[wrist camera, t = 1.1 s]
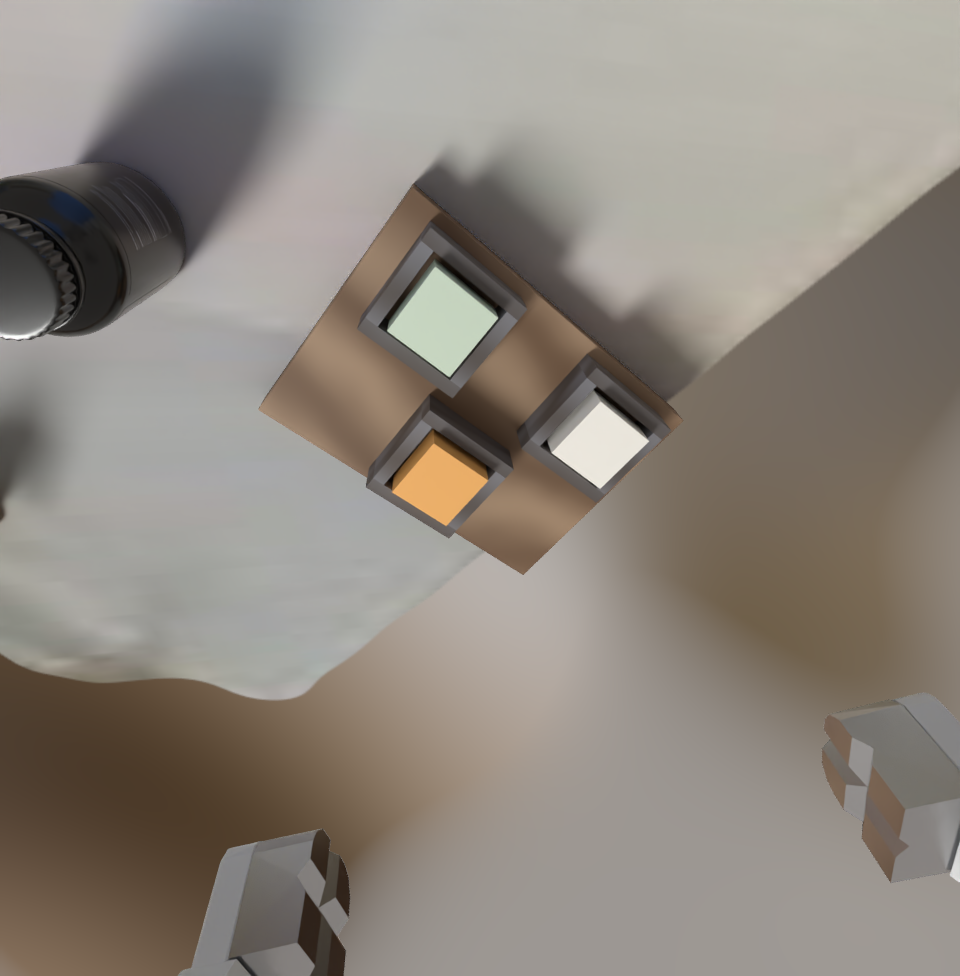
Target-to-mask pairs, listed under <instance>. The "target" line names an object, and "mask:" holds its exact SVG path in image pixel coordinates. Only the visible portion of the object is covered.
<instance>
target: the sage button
mask: <svg viewBox="0 0 960 976" xmlns="http://www.w3.org/2000/svg"><path fill="white" fill-rule="evenodd" d="M497 319H498V316H497V313H496V310H495V308H494V307H493V306H492V305H491V304H489V303H488V302H487V301H486V300H485V299H483V298H482V297H481V296H480V295H478V294H477V293H476V292H475V291H474V290H472V289H471V288H470V287H469V286H467V285H466V284H465V283H464V282H463V281H461V280H460V279H459V278H458V277H457V276H455V275H454V274H453V273H452V272H450V271H449V270H448V269H447V268H446V267H444V266H443V265H442V264H441V263H440V262H438V261H437V260H436V259H434V261H433V262H432V263H431V265H430V266H429V267H428V269H427V270H426V271H425V273H424V274H423V275H422V277H421V278H420V279H419V281H418V282H417V283H416V285H415V286H414V287H413V289H412V290H411V291H410V293H409V294H408V295H407V297H406V298H405V299H404V301H403V302H402V304H401V305H400V306H399V308H398V309H397V310H396V312H395V313H394V314H393V316H392V317H391V318H390V320H389V323H388V328H387V331H388V332H389V333H390V334H392V335H393V336H394V337H396V338H397V339H398V340H400V341H401V342H402V343H404V344H405V345H407V346H408V347H409V348H411V349H412V350H413V351H415V352H416V353H417V354H419V355H420V356H421V357H423V358H424V359H425V360H427V361H428V362H430V363H431V364H432V365H434V366H435V367H436V368H438V369H439V370H440V371H442V372H443V373H444V374H446V375H447V376H448V377H450V376H451V375H452V374H453V372H454V371H455V370H456V369H457V368H458V366H459V365H460V364H461V363H462V362H463V360H464V359H465V358H466V357H467V355H468V354H469V353H470V352H471V351H472V349H473V348H474V347H475V346H476V345H477V343H478V342H479V341H480V340H481V338H482V337H483V336H484V335H485V334H486V332H487V331H488V330H489V329H490V328H491V326H492V325H493V324H494V323H495V322H496V320H497Z"/></svg>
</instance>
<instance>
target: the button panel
mask: <svg viewBox="0 0 960 976" xmlns="http://www.w3.org/2000/svg"><path fill="white" fill-rule="evenodd" d="M434 259H436V260H437V261H438V262H440V263H441V264H442V265H443V266H444V267H446V268H447V269H448V270H449V271H450V272H452V273H453V274H454V275H455V276H457V277H458V278H459V279H460V280H461V281H463V282H464V283H465V284H466V285H467V286H469V287H470V288H471V289H472V290H474V291H475V292H476V293H477V294H478V295H480V296H481V297H482V298H483V299H485V300H486V301H487V302H488V303H489V304H491V305H492V306H493V307H494V308H495V310H496V313H497V316H498V319H497V320H496V322H495V323H494V324H493V325H492V326H491V328H490V329H489V330H488V331H487V332H486V334H485V335H484V336H483V337H482V338H481V340H480V341H479V342H478V343H477V345H476V346H475V347H474V348H473V349H472V351H471V352H470V353H469V354H468V355H467V357H466V358H465V359H464V360H463V362H462V363H461V364H460V365H459V366H458V368H457V369H456V370H455V371H454V372H453V374H452V375H451V376H450V377H448V376H447V375H446V374H444V373H443V372H442V371H440V370H439V369H438V368H436V367H435V366H434V365H432V364H431V363H430V362H428V361H427V360H425V359H424V358H423V357H421V356H420V355H419V354H417V353H416V352H415V351H413V350H412V349H411V348H409V347H408V346H407V345H405V344H404V343H402V342H401V341H400V340H398V339H397V338H396V337H394V336H393V335H392V334H390V333H389V332H388V331H387V328H388V323H389V320H390V318H391V317H392V316H393V314H394V313H395V312H396V310H397V309H398V308H399V306H400V305H401V304H402V302H403V301H404V299H405V298H406V297H407V295H408V294H409V293H410V291H411V290H412V289H413V287H414V286H415V285H416V283H417V282H418V281H419V279H420V278H421V277H422V275H423V274H424V273H425V271H426V270H427V269H428V267H429V266H430V265H431V263H432V262H433V261H434ZM593 389H594V390H595V391H596V392H598V393H599V394H600V395H601V396H602V397H604V398H605V399H606V400H607V401H609V402H610V403H611V404H612V405H613V406H615V407H616V408H617V409H618V410H620V411H621V412H622V413H623V414H624V415H626V416H627V417H628V418H629V419H630V420H632V421H633V422H634V423H635V424H637V425H638V426H639V427H640V428H641V430H642V431H643V433H644V434H645V436H646V437H647V439H648V440H649V442H648V443H647V444H646V445H645V446H644V447H643V448H642V449H641V450H640V451H639V452H638V453H637V454H636V455H634V456H633V457H632V458H631V459H630V460H629V461H628V462H627V463H626V464H625V465H624V466H623V467H622V468H621V469H620V470H619V471H618V472H617V473H616V474H615V475H614V476H613V477H612V478H611V479H610V480H609V481H608V482H607V483H606V484H605V485H604V486H603V487H602V488H601V489H600V488H598V487H597V486H596V485H594V484H593V483H592V482H590V481H589V480H588V479H586V478H585V477H583V476H582V475H581V474H579V473H578V472H577V471H575V470H574V469H573V468H571V467H570V466H569V465H567V464H566V463H565V462H563V461H562V460H561V459H559V458H558V457H556V456H555V455H554V454H552V453H551V450H550V447H549V445H548V442H547V438H548V437H549V436H550V435H551V434H552V433H553V432H554V431H555V430H556V429H557V428H558V426H559V425H560V424H561V423H562V422H563V421H564V420H565V419H566V418H567V417H568V416H569V415H570V414H571V413H572V412H573V411H574V410H575V408H576V407H577V406H578V405H579V404H580V403H581V402H582V401H583V400H584V399H585V398H586V397H587V396H588V395H589V394H590V393H591V392H592V390H593ZM258 410H260V411H261V412H263V413H264V414H266V415H268V416H269V417H271V418H272V419H274V420H276V421H277V422H279V423H280V424H282V425H284V426H285V427H287V428H288V429H290V430H292V431H293V432H295V433H296V434H298V435H300V436H301V437H303V438H304V439H306V440H308V441H309V442H311V443H312V444H314V445H316V446H317V447H319V448H320V449H322V450H324V451H325V452H327V453H328V454H330V455H332V456H333V457H335V458H336V459H338V460H340V461H341V462H343V463H344V464H346V465H348V466H349V467H351V468H352V469H354V470H356V471H357V472H359V473H361V474H362V475H364V476H365V477H367V483H366V488H368V489H370V490H371V491H373V492H374V493H376V494H378V495H379V496H381V497H383V498H384V499H386V500H387V501H389V502H391V503H392V504H394V505H396V506H397V507H399V508H400V509H402V510H404V511H405V512H407V513H408V514H410V515H412V516H413V517H415V518H417V519H418V520H420V521H421V522H423V523H425V524H426V525H428V526H430V527H431V528H433V529H434V530H436V531H438V532H439V533H441V534H443V535H444V536H446V537H447V538H450V537H451V536H452V535H453V534H454V533H457V534H458V535H460V536H461V537H463V538H465V539H466V540H468V541H469V542H471V543H473V544H474V545H476V546H478V547H479V548H481V549H482V550H484V551H486V552H487V553H489V554H491V555H492V556H494V557H495V558H497V559H499V560H500V561H502V562H503V563H505V564H507V565H508V566H510V567H511V568H513V569H515V570H516V571H518V572H519V573H521V574H523V575H524V574H525V573H526V572H527V571H528V570H529V569H530V568H531V567H532V566H533V565H534V564H535V563H536V562H537V561H538V560H539V559H540V558H541V557H542V556H543V555H544V554H545V553H546V552H548V551H549V550H550V549H551V548H552V547H553V546H554V545H555V544H556V543H557V542H558V541H559V540H560V539H561V538H562V537H563V536H564V535H565V534H566V533H567V532H568V531H569V530H570V529H571V528H572V527H574V525H576V524H577V523H578V522H579V521H580V520H581V519H582V518H583V517H584V516H585V515H586V514H587V513H588V512H589V511H590V510H591V509H592V508H593V507H594V506H595V505H596V504H597V503H598V502H599V501H601V500H602V499H603V498H604V497H605V496H606V495H607V494H608V493H609V492H610V491H611V490H612V489H613V488H614V487H615V486H616V485H617V484H618V483H619V482H620V481H621V480H622V479H623V478H624V477H626V475H628V474H629V473H630V472H631V471H632V470H633V469H634V468H635V467H636V466H637V465H638V464H639V463H640V462H641V461H642V460H643V459H644V458H645V457H646V456H647V455H648V454H649V453H650V452H652V451H653V450H654V449H655V448H656V447H657V446H658V445H659V444H660V443H661V442H662V441H663V440H664V439H665V438H666V437H667V436H668V435H669V434H670V433H671V432H672V431H673V430H674V429H675V428H676V427H677V426H678V425H680V424H681V423H682V422H683V420H682V418H681V417H680V416H679V415H678V414H677V412H676V411H675V410H674V409H673V408H672V407H671V406H670V405H669V404H668V403H666V402H665V401H664V400H663V399H662V398H661V397H659V396H658V395H657V394H656V393H655V392H654V391H653V390H651V389H650V388H649V387H648V386H647V385H646V384H644V383H643V382H642V381H641V380H640V379H639V378H638V377H636V376H635V375H634V374H633V373H632V372H631V371H629V370H628V369H627V368H626V367H625V366H624V365H623V364H621V363H620V362H619V361H618V360H617V359H616V358H614V357H613V356H612V355H611V354H610V353H609V352H607V351H606V350H605V349H604V348H603V347H602V346H601V345H599V344H598V343H597V342H596V341H595V340H594V339H592V338H591V337H590V336H589V335H588V334H587V333H586V332H584V331H583V330H582V329H581V328H580V327H579V326H577V325H576V324H575V323H574V322H573V321H572V320H570V319H569V318H568V317H567V316H566V315H565V314H564V313H562V312H561V311H560V310H559V309H558V308H557V307H555V306H554V305H553V304H552V303H551V302H550V301H549V300H547V299H546V298H545V297H544V296H543V295H542V294H540V293H539V292H538V291H537V290H536V289H535V288H534V287H532V286H531V285H530V284H529V283H528V282H527V281H525V280H524V279H523V278H522V277H521V276H520V275H518V274H517V273H516V272H515V271H514V270H513V269H512V268H510V267H509V266H508V265H507V264H506V263H505V262H503V261H502V260H501V259H500V258H499V257H498V256H497V255H495V254H494V253H493V252H492V251H491V250H490V249H488V248H487V247H486V246H485V245H484V244H483V243H482V242H480V241H479V240H478V239H477V238H476V237H475V236H473V235H472V234H471V233H470V232H469V231H468V230H466V229H465V228H464V227H463V226H462V225H461V224H460V223H458V222H457V221H456V220H455V219H454V218H453V217H451V216H450V215H449V214H448V213H447V212H446V211H445V210H443V209H442V208H441V207H440V206H439V205H438V204H436V203H435V202H434V201H433V200H432V199H431V198H429V197H428V196H427V195H426V194H425V193H424V192H423V191H421V190H420V189H419V188H418V187H417V186H416V185H414V184H413V185H412V186H411V188H410V189H409V191H408V192H407V193H406V195H405V196H404V198H403V199H402V201H401V202H400V204H399V205H398V206H397V208H396V209H395V211H394V212H393V214H392V215H391V217H390V218H389V219H388V221H387V222H386V224H385V225H384V227H383V228H382V230H381V231H380V232H379V234H378V235H377V237H376V238H375V240H374V241H373V243H372V244H371V245H370V247H369V248H368V250H367V251H366V253H365V254H364V255H363V257H362V258H361V260H360V261H359V263H358V264H357V266H356V267H355V268H354V270H353V271H352V273H351V274H350V276H349V277H348V279H347V280H346V281H345V283H344V284H343V286H342V287H341V289H340V290H339V292H338V293H337V294H336V296H335V297H334V299H333V300H332V302H331V303H330V305H329V306H328V307H327V309H326V310H325V312H324V313H323V315H322V316H321V318H320V319H319V320H318V322H317V323H316V325H315V326H314V328H313V329H312V330H311V332H310V333H309V335H308V336H307V338H306V339H305V341H304V342H303V343H302V345H301V346H300V348H299V349H298V351H297V352H296V354H295V355H294V356H293V358H292V359H291V361H290V362H289V364H288V365H287V367H286V368H285V369H284V371H283V372H282V374H281V375H280V377H279V378H278V380H277V381H276V382H275V384H274V385H273V387H272V388H271V390H270V391H269V393H268V394H267V395H266V397H265V399H264V400H263V402H262V404H261V406H260V407H259V409H258ZM433 429H434V430H436V431H437V432H439V433H440V434H442V435H443V436H445V437H446V438H447V439H449V440H450V441H452V442H453V443H455V444H456V445H458V446H459V447H460V448H462V449H463V450H465V451H466V452H468V453H469V454H471V455H472V456H473V457H475V458H476V459H478V460H479V461H481V462H482V463H484V464H485V465H486V470H487V476H488V482H487V483H486V484H485V485H484V486H483V487H482V488H481V489H480V490H479V491H478V492H477V493H476V495H475V496H474V497H473V498H472V499H471V500H470V501H469V502H468V503H467V504H466V505H465V506H464V507H463V509H462V510H461V511H460V512H459V513H458V514H457V515H456V516H455V517H454V518H453V519H452V520H451V521H450V523H449V524H448V525H447V526H445V525H444V524H442V523H440V522H439V521H437V520H436V519H434V518H432V517H431V516H429V515H428V514H426V513H424V512H423V511H421V510H420V509H418V508H416V507H415V506H413V505H412V504H410V503H408V502H407V501H405V500H404V499H402V498H400V497H399V496H397V495H396V494H394V493H392V487H393V476H394V475H395V474H396V472H397V471H398V470H399V469H400V468H401V467H402V465H403V464H404V463H405V462H406V461H407V459H408V458H409V457H410V456H411V455H412V454H413V452H414V451H415V450H416V449H417V448H418V446H419V445H420V444H421V443H422V442H423V441H424V439H425V438H426V437H427V436H428V435H429V433H430V432H431V431H432V430H433Z"/></svg>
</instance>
